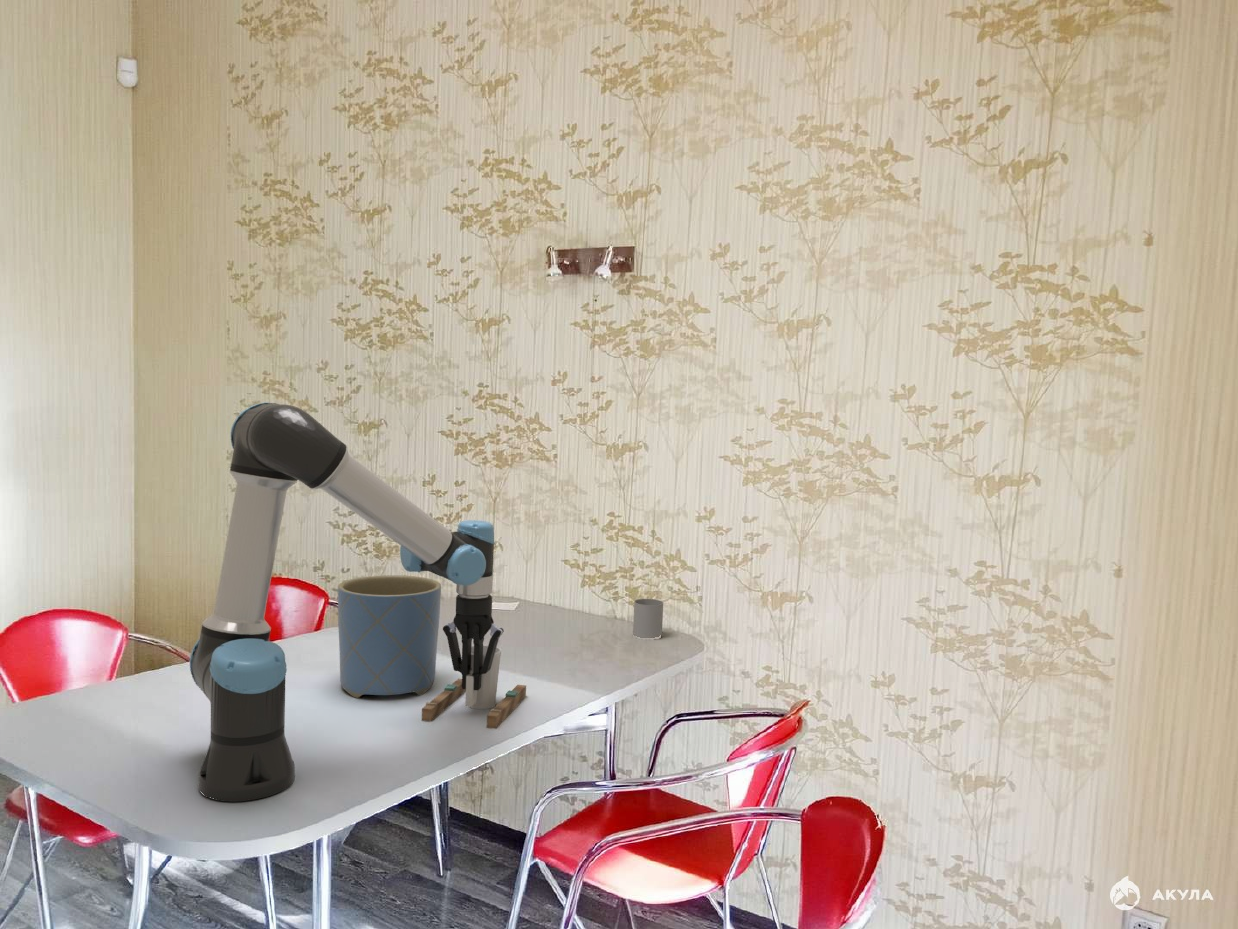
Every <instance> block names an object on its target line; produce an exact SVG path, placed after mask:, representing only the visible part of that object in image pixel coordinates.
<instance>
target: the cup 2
mask: <svg viewBox="0 0 1238 929" xmlns="http://www.w3.org/2000/svg"><path fill="white" fill-rule="evenodd" d="M633 604H634V605H633V624H632V628H633V629H632V636H633V635H634V636H637V637H640V638H655V637H659V636H660V635H662V636H663V617H664V616H663V615H664V601H662V600H659V599H655V598H654V599H653V598H641V599H636V600H634V602H633Z"/></svg>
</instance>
